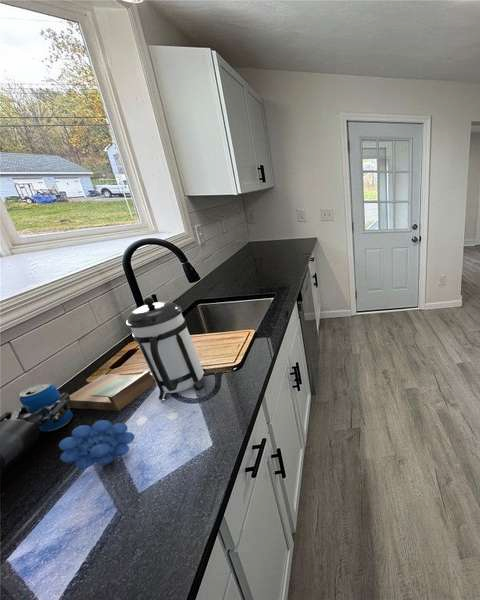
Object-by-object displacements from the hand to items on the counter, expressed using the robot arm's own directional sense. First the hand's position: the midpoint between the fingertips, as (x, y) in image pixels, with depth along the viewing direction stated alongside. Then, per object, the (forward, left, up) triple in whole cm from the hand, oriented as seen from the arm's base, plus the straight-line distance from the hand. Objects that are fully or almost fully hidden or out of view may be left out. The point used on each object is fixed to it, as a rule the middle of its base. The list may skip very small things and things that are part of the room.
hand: (50, 398), depth 85 cm
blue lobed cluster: (+30, -12, -7) cm, 33 cm away
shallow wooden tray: (+5, +10, -7) cm, 13 cm away
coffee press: (+26, +15, -7) cm, 31 cm away
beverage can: (+1, -2, -7) cm, 8 cm away
